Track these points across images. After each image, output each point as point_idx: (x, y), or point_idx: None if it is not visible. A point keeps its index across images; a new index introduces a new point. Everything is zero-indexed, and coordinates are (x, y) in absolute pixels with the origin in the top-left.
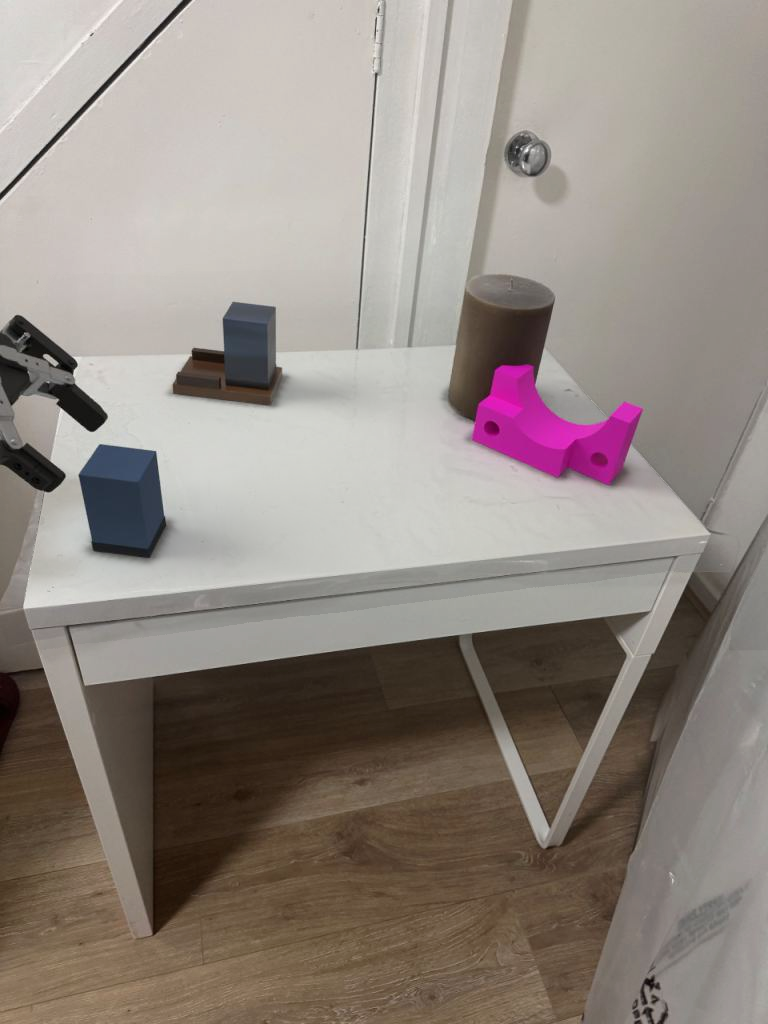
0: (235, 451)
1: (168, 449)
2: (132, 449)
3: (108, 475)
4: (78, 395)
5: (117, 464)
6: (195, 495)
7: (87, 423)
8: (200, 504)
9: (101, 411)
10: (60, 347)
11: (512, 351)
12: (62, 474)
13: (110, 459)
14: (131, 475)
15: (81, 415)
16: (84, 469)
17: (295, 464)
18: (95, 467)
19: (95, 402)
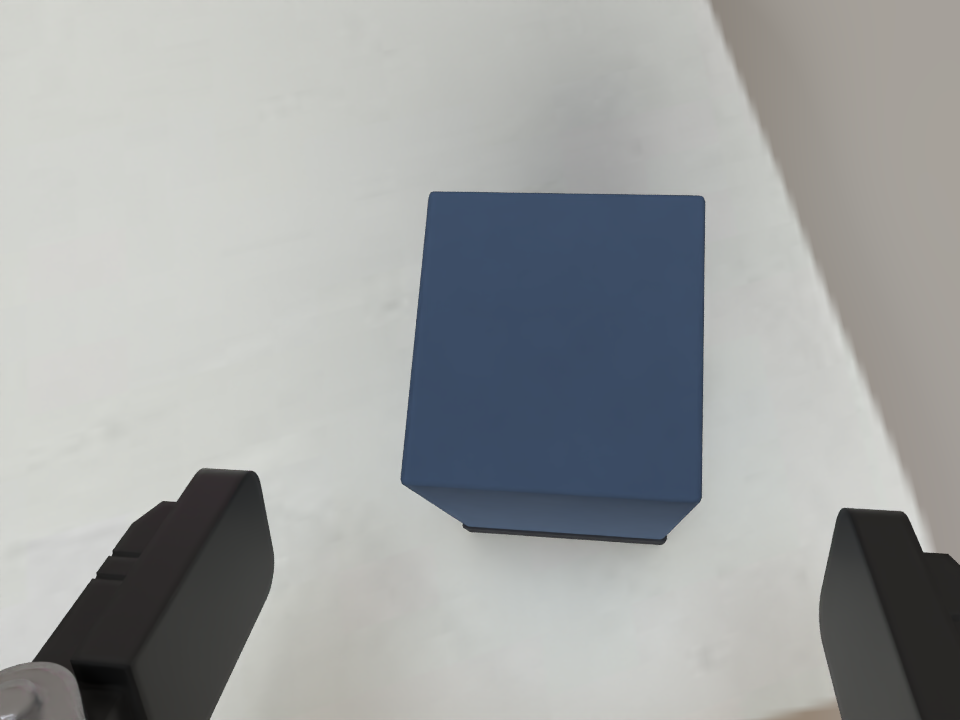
0: (49, 207)
1: (36, 442)
2: (431, 303)
3: (681, 345)
4: (155, 613)
5: (577, 332)
6: (312, 278)
7: (251, 587)
8: (361, 250)
9: (205, 489)
10: None
11: None
12: (869, 514)
13: (535, 382)
14: (656, 240)
15: (224, 618)
16: (653, 481)
17: (122, 9)
18: (620, 433)
19: (120, 548)
